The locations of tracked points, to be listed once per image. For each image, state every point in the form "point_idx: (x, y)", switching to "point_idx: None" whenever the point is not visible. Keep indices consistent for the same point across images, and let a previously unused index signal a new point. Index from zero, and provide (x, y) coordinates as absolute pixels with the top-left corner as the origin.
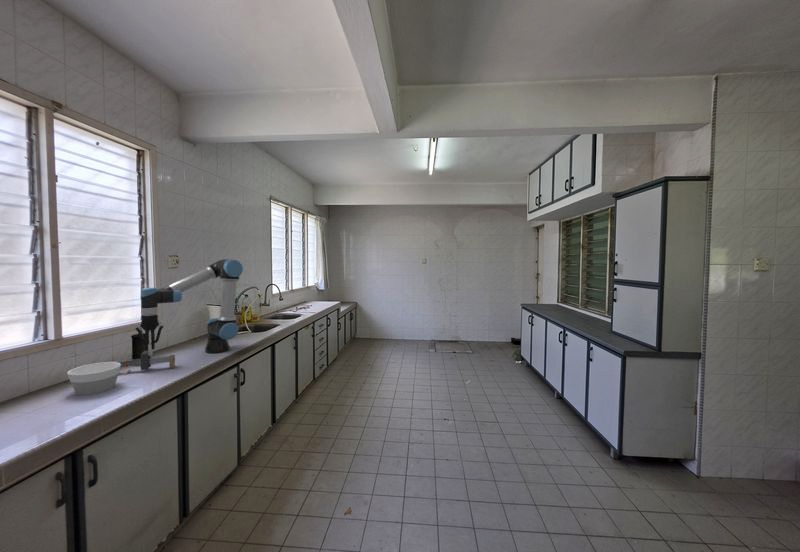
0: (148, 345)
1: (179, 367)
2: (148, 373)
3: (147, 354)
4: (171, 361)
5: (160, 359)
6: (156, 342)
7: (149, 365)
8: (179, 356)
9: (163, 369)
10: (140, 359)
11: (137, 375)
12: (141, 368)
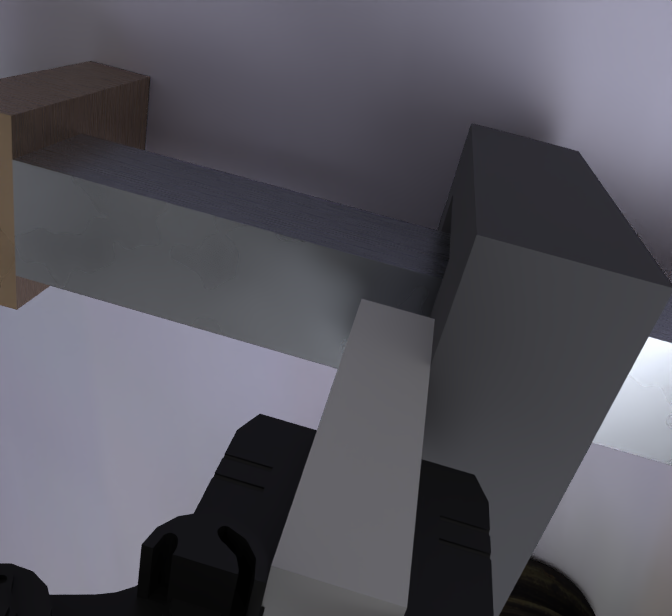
0: (396, 565)
1: (13, 73)
2: (469, 23)
3: (466, 254)
4: (38, 85)
5: (211, 196)
6: (11, 573)
7: None
8: None
9: (238, 124)
10: None
11: (653, 13)
12: (576, 155)
